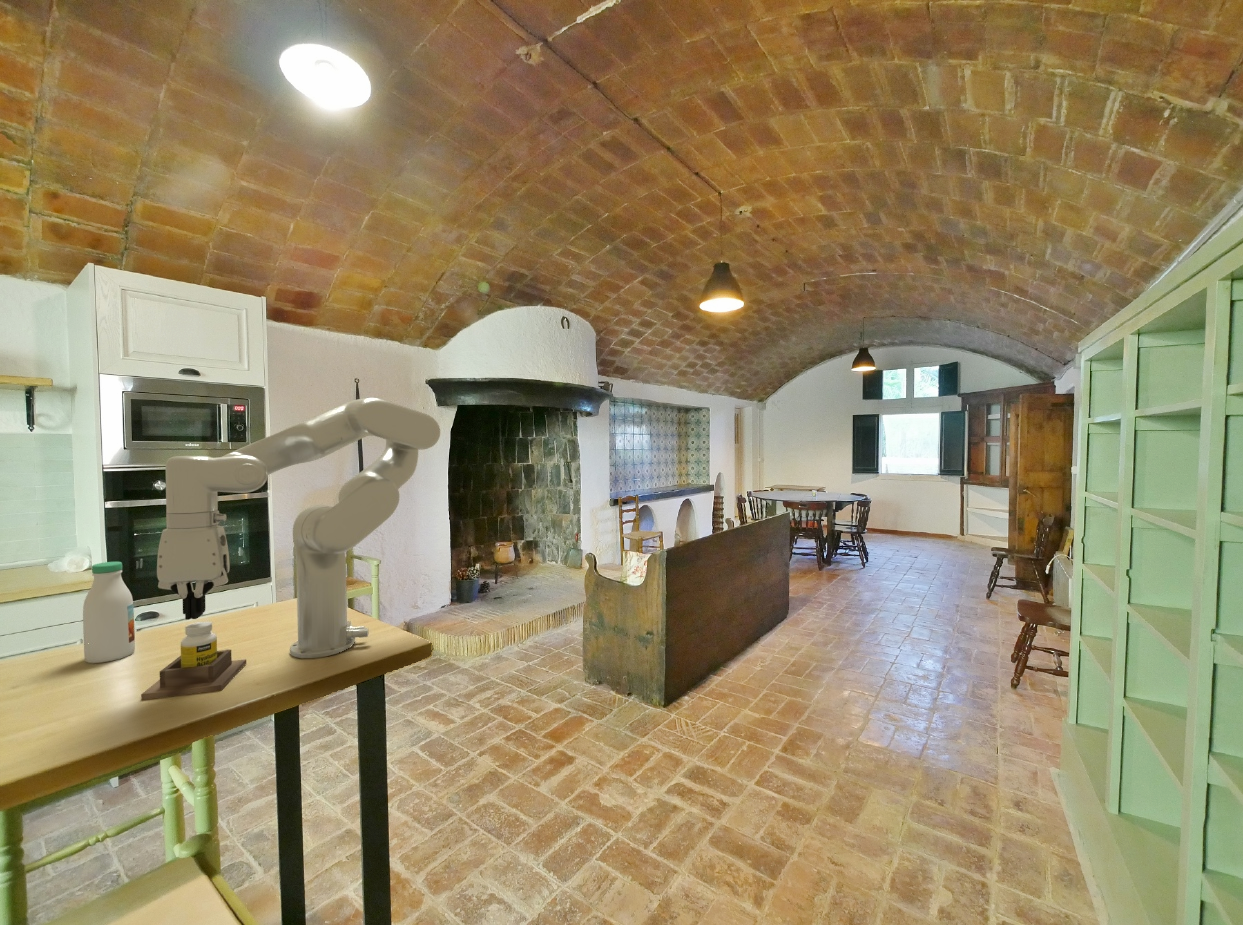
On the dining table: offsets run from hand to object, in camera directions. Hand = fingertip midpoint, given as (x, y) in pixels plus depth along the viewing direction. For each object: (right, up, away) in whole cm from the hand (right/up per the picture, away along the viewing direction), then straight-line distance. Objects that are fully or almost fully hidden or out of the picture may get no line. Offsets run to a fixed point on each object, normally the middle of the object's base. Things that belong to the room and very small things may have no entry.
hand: (194, 617), depth 100 cm
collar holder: (0, -12, +1) cm, 12 cm away
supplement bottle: (0, -12, +1) cm, 12 cm away
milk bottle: (-27, -12, +12) cm, 32 cm away
